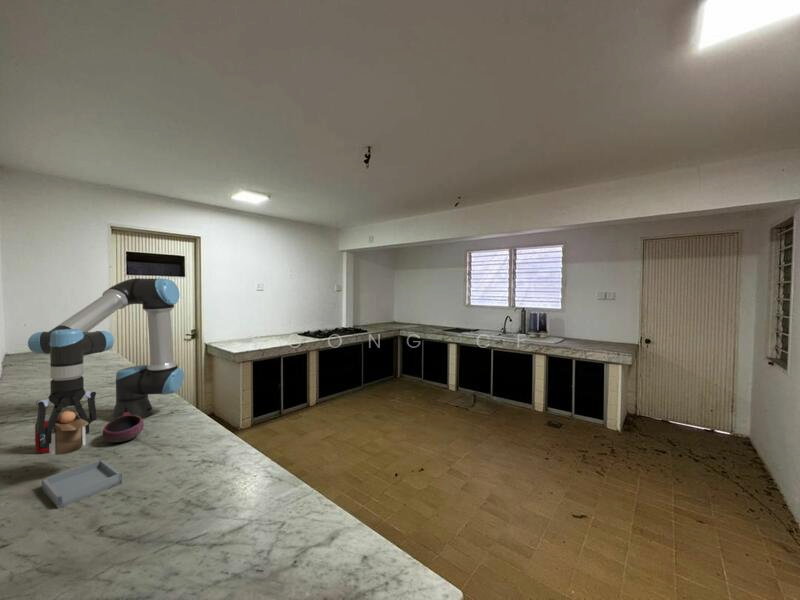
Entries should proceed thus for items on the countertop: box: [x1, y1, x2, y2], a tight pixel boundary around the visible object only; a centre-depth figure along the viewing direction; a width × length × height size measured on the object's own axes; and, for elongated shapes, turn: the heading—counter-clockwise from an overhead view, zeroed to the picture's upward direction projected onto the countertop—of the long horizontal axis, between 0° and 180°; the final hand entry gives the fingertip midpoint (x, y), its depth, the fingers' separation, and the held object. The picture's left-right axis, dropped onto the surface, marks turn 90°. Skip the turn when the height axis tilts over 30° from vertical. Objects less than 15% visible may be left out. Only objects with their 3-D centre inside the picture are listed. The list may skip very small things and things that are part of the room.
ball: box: [58, 409, 76, 423], centre depth 107 cm, size 4×4×4 cm
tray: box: [41, 458, 123, 509], centre depth 100 cm, size 14×16×3 cm
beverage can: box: [34, 414, 59, 454], centre depth 122 cm, size 7×7×12 cm
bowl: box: [101, 412, 145, 443], centre depth 132 cm, size 16×13×8 cm
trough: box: [53, 414, 90, 456], centre depth 106 cm, size 6×11×10 cm, turn 58°
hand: (68, 448), depth 107 cm, fingers closed on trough, 6 cm apart
